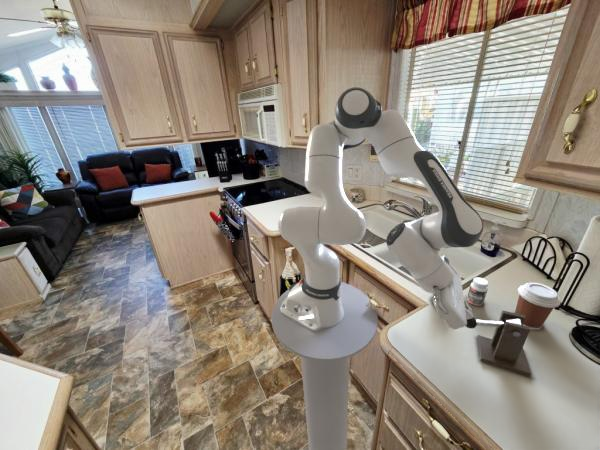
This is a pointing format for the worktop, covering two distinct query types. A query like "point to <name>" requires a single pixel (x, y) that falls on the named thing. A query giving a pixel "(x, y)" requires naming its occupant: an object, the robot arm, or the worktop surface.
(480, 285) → the pill bottle
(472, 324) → the lever
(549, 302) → the coffee cup
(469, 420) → the worktop surface
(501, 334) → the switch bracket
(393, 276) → the worktop surface
